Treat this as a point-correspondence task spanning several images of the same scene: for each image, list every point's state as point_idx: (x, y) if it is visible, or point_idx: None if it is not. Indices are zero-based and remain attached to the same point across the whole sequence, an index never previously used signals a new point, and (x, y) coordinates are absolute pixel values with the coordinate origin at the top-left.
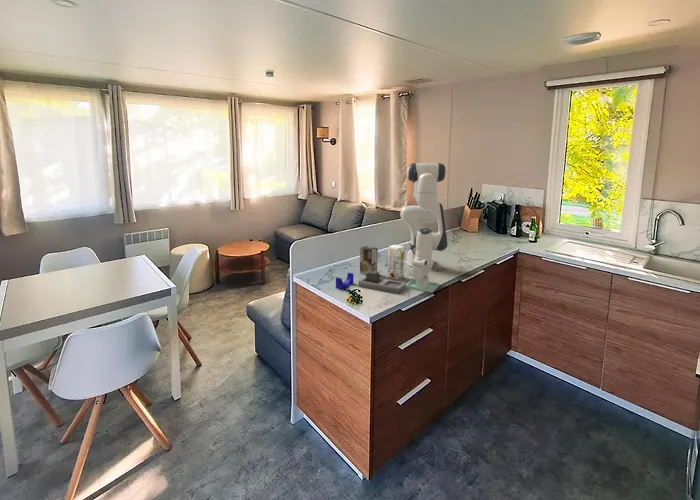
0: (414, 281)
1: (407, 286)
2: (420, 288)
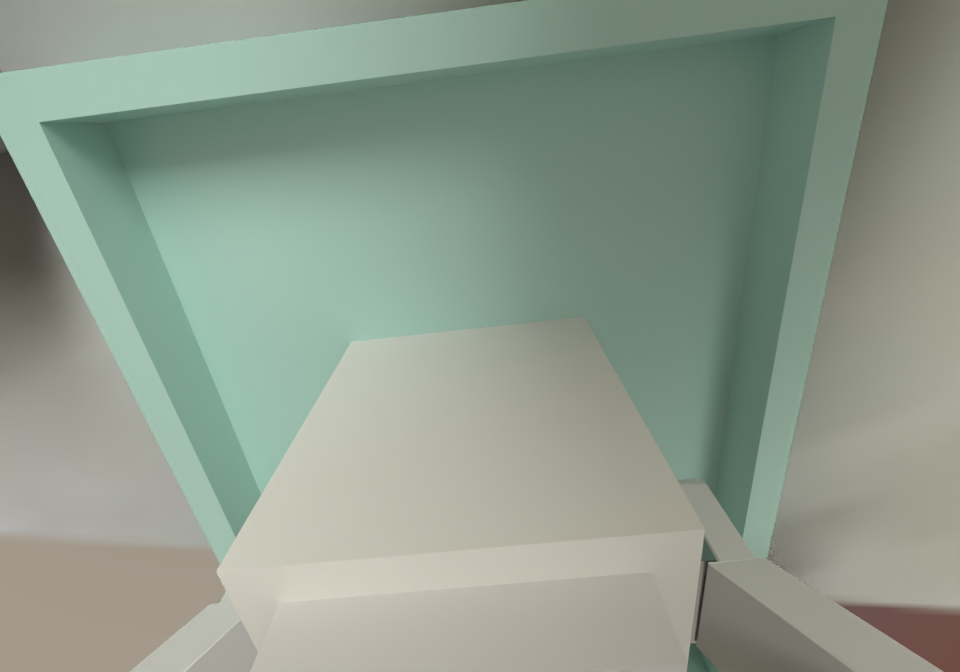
0: (772, 103)
1: (63, 193)
2: (227, 542)
